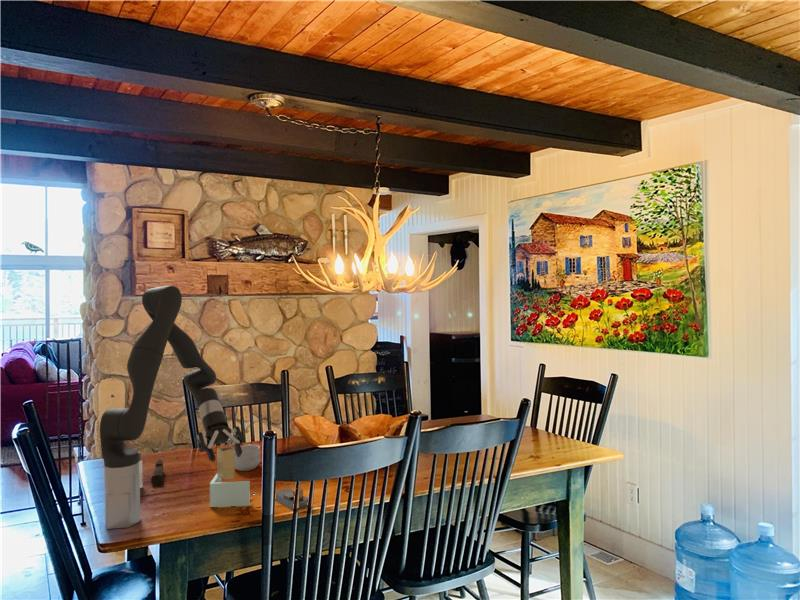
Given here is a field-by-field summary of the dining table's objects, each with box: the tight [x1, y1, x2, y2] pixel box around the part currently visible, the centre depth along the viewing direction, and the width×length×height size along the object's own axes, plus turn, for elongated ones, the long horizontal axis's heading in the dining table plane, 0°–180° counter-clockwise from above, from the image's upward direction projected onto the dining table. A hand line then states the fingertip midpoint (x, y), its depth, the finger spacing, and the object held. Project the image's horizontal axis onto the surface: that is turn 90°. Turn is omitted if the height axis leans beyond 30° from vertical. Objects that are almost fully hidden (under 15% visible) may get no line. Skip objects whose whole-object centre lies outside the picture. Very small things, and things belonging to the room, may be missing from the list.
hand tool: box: [150, 459, 165, 486], centre depth 210 cm, size 19×4×5 cm, turn 18°
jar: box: [137, 450, 143, 489], centre depth 199 cm, size 9×8×12 cm
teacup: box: [232, 443, 261, 472], centre depth 221 cm, size 14×11×8 cm
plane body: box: [275, 487, 308, 511], centre depth 183 cm, size 14×6×5 cm, turn 39°
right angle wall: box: [209, 473, 256, 508], centre depth 185 cm, size 12×12×8 cm
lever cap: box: [216, 445, 235, 480], centre depth 186 cm, size 5×4×9 cm
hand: (226, 458), depth 185 cm, fingers open, 8 cm apart
